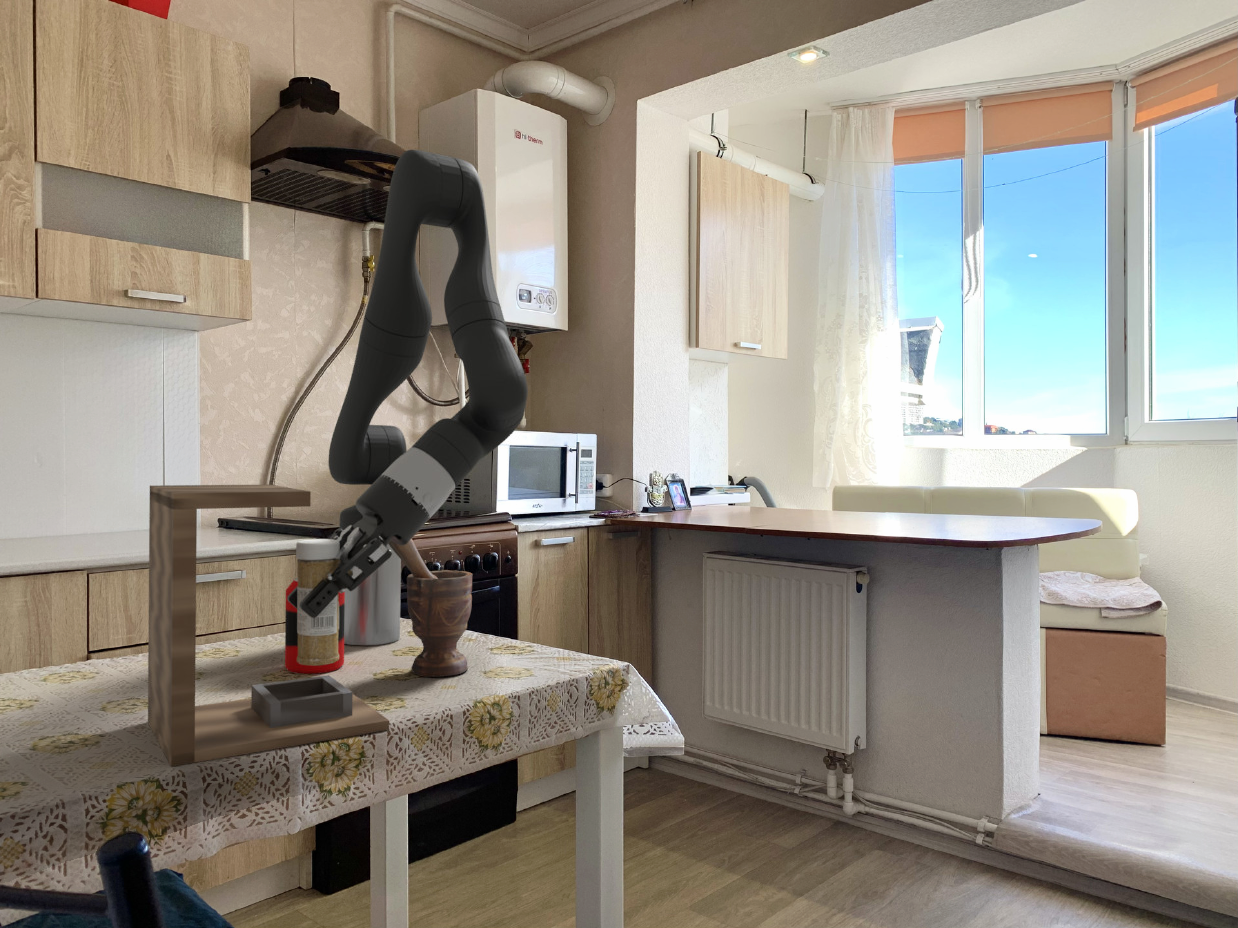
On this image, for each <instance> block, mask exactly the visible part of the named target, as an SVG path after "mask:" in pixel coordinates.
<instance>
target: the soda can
mask: <svg viewBox="0 0 1238 928" xmlns="http://www.w3.org/2000/svg"><path fill="white" fill-rule="evenodd" d="M297 586H298V577H296V578H293V580H292V582H291V583H290V584H289V585H288V587H287V588H286V589H285V619H284V620H285V623H284V624H285V625H284V626H285V633H284V635H285V637H284V644H285V645H284V667H285V669H286V670H287V671H288V672H290V673H295V674H301V675H302V674H303V675H305V674H306V675H315V674H324V673H325V674H326V673H330V672H333V671H338V670H339V669H341V668H342V666H343V665H344V664H345V644H344V616H345V592H343V593H340V592H338V593H339V594H338V602H339V630H338V653H339V660H338V661H336V662H334V663H331V664H326V665H320V666H313V665H303V664H300V663H298V662H297V656H298V633H297V608H295V607H294V606H293V605H292V604H291V603H290V602H289V601H288V600H287V597H288V595H289V594H290V593H291V592H292V591H293V590H294V589H295V588H296V587H297Z"/></svg>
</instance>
